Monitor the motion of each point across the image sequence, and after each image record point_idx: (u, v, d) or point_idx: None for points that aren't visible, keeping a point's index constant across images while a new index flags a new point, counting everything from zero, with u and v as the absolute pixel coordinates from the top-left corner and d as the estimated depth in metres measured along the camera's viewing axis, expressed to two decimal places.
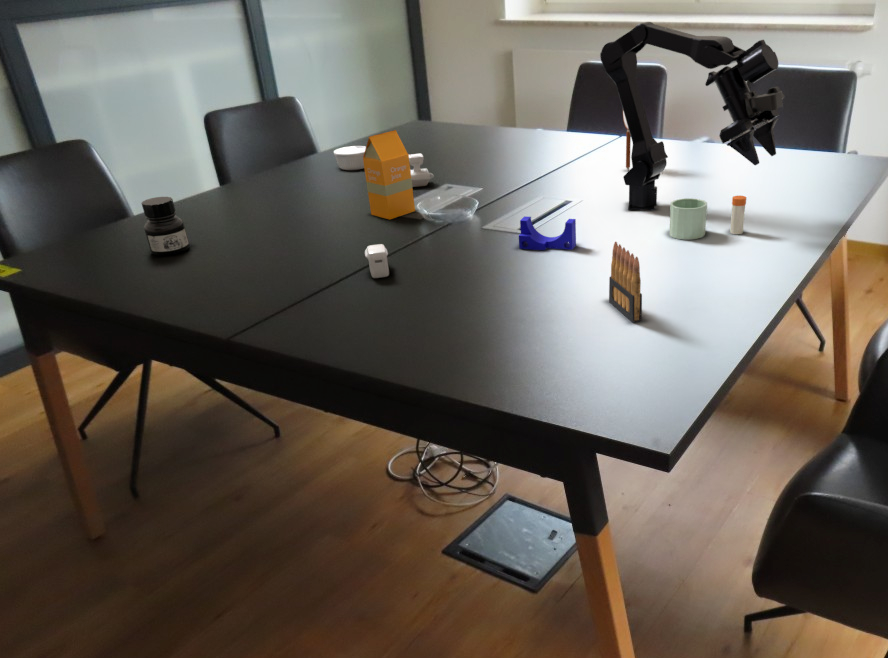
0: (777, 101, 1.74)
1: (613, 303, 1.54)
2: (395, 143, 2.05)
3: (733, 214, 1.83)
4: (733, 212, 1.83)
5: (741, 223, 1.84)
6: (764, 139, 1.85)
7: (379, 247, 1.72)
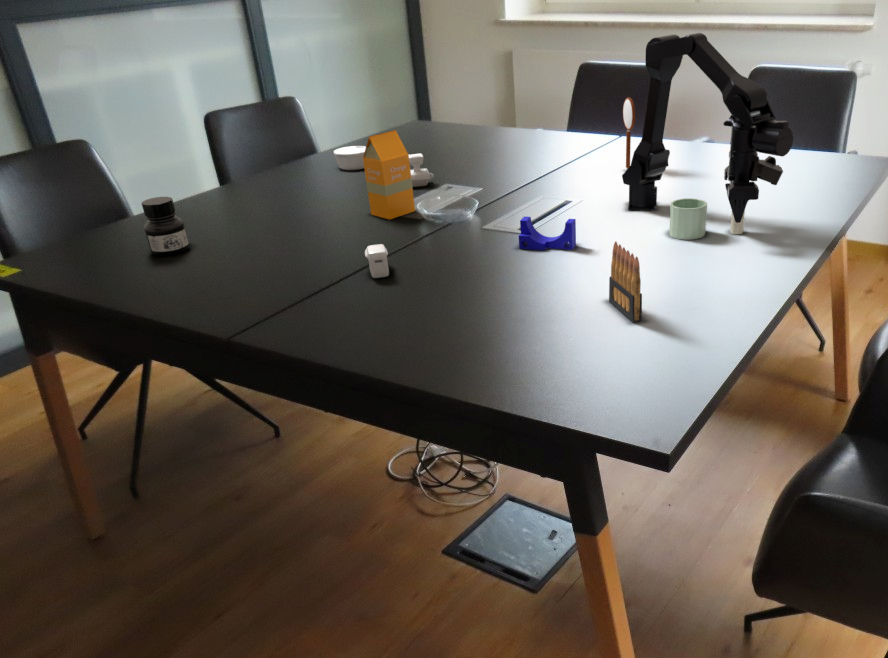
0: None
1: (613, 303, 1.54)
2: (395, 143, 2.05)
3: None
4: None
5: (741, 223, 1.84)
6: None
7: (379, 247, 1.72)
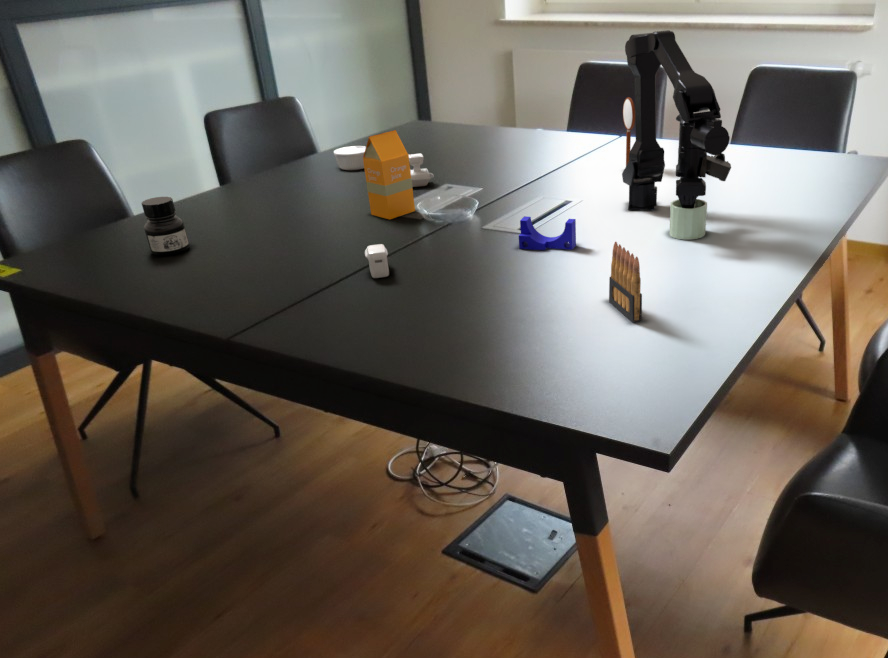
0: (728, 173, 1.78)
1: (613, 303, 1.54)
2: (395, 143, 2.05)
3: None
4: None
5: None
6: None
7: (379, 247, 1.72)
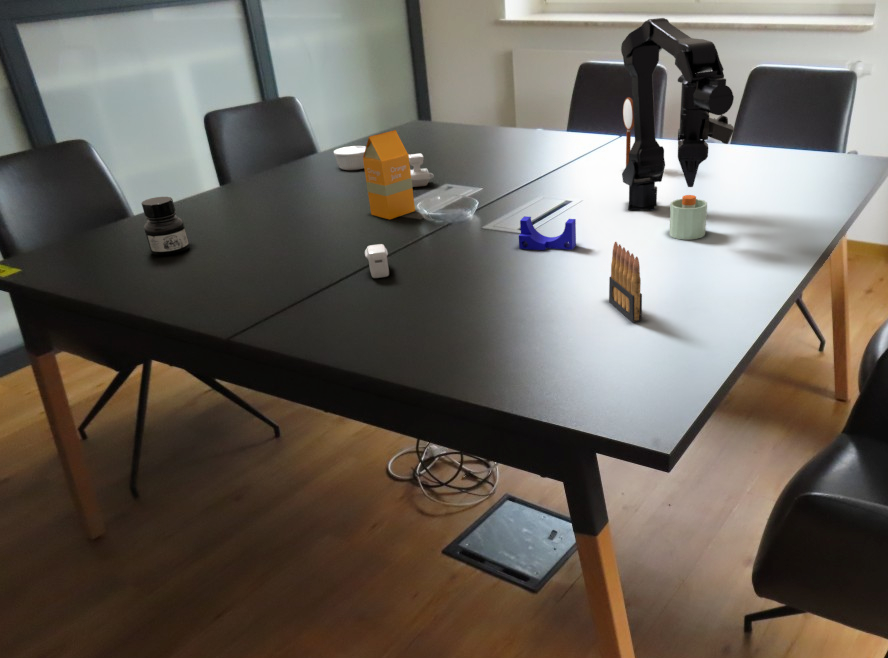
0: None
1: (613, 303, 1.54)
2: (395, 143, 2.05)
3: None
4: None
5: None
6: None
7: (379, 247, 1.72)
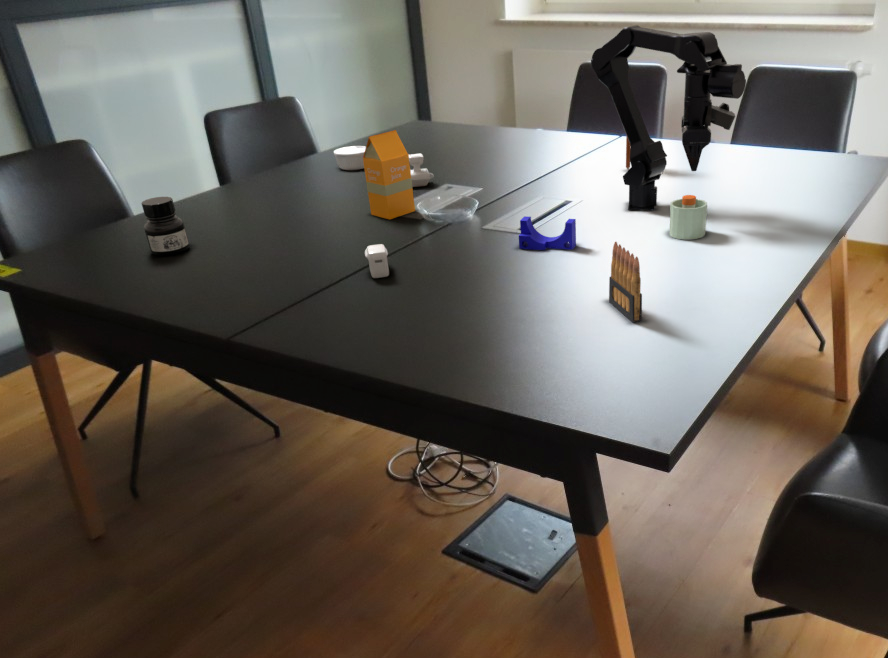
0: None
1: (613, 303, 1.54)
2: (395, 143, 2.05)
3: None
4: None
5: None
6: None
7: (379, 247, 1.72)
